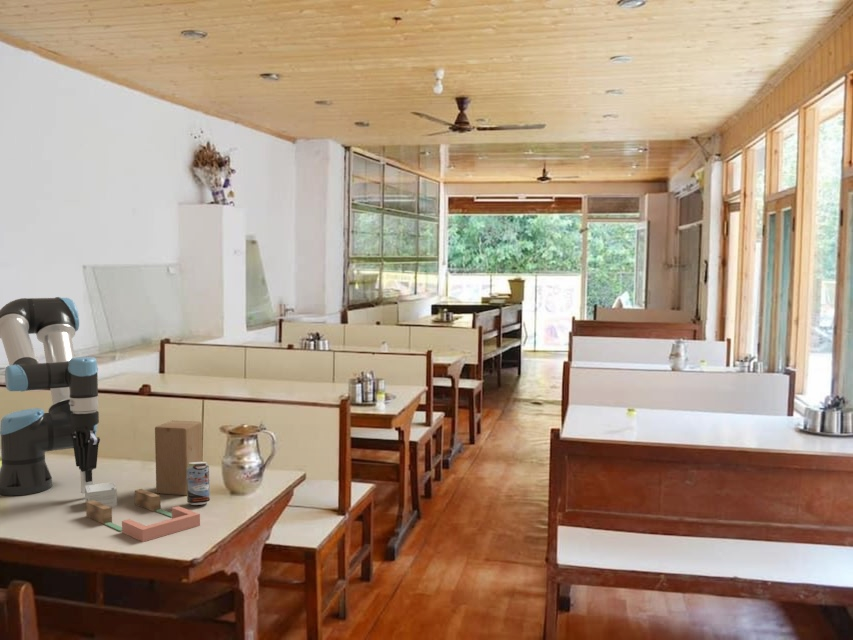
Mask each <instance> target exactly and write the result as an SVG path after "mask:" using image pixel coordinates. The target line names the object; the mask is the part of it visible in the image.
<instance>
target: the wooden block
mask: <svg viewBox="0 0 853 640" xmlns="http://www.w3.org/2000/svg"><path fill="white" fill-rule="evenodd" d="M202 432H203V431H202V422H201V421H193V420H190V421H188V420H174V419H173V420H170V421H167V422H164V423H162V424H160V425H156V426H155V427H154V443H155V444H154V445H155V446H154V449H155V450H154V451H155V486H156V487H155V491H156V494H159V493H160V494H161V495H176V496H187V467H188V465H189V463H191V462H203V445H202V444H203V443H202V442H203V441H202V440H203V437H202Z"/></svg>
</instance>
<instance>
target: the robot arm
mask: <svg viewBox="0 0 853 640" xmlns="http://www.w3.org/2000/svg"><path fill="white" fill-rule="evenodd" d="M79 316H80V315H79V311H78V308H77V305H76V303H75V302H74V300H73V299H71V298H70V297H59V296H57V297H38V298H37V297H35V298H33V297H31V298H29V297H28V298H26V297H25V298H17V299H14V300H11V301H10V302H7V303H6V304H5V305H4V306H3V307H1V309H0V339H1V343H2V345H3V348H4V351H5V354H6V358H7V361H8V364H9V365H7V366H6V368H5V370H4V380H5V381H4V382H5V388H6V389H7V391H9V392H27V391H37V390H50V396H51V401H52V404H51V405H49V408H48V411H47V412H45V410H44V409H43V408H38V407H35V408H27V409H22V410H18V411H17V410H16V411H13V412H10V413H9V414H6V415H4V416H3V417H2V418H1V419H0V453H1V454H0V455H1V456H0V458H1V466H0V495H2V496H23V495H24V496H25V495H26V496H27V495H31V494H38V493H40V492H44V491H47V490H49V489H51V488H52V487H53V477H52V475H51V472H50V470H49V467H48V465H47V462H46V452H53V451H60V450H71V449H73V452H74V460H75V466H76V467H77V468H78V470H79V471H80V493H82V494H83V495H85V486H87V485H94V484H93V470H95V469H97V465H98V453H99V444H100V441H101V439H100V436H99V437H98V436H97V429H98V424H99V423H100V415H99V414H100V413H99V411H98V410H99V408H100V407H99V405H100V404H99V388H98V387H99V386H98V385H99V382H98V381H99V379H98V373H99V372H98V371H99V368H98V360H97V359H96V357H93V356H77V357H76V356H75V350H74V343H73V340H72V339H73V338H74V337H75V336H76V332H77V331H79V328H80V319H79ZM31 334H33V335H35V334H36V335H35V336H36V338H37V340H38V341H39V342H41V343H42V345H43V351H44V356H45V362H41V363H39V359H38V357H37V354H36V350H35V348H34V345H33V343H32V339H31V337H30V335H31Z"/></svg>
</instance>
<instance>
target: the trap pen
mask: <svg viewBox="0 0 853 640" xmlns="http://www.w3.org/2000/svg"><path fill="white" fill-rule="evenodd" d="M171 513H172V518H171V519H166V520H163V521H159V522H155V523H151V524H148V525H144V524H142V523H140V522H137V521H135V520H133V519H131V518H128V519H124V520H121V527H122V531H121V532H122V534H124V535H127V536H128V537H131V538H134V539H135V540H138V541H140V542H142V543H144V542H147V541H150V540H154V539H158V538H162V537H164V536H169V535H173V534H175V533H178V532H181V531H186V530H189V529H193V528H196V527H200V526H201V513H198V512H196V511H193V510H190V509H187V508H185V507H182V506H173V507H171Z"/></svg>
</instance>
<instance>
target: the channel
mask: <svg viewBox="0 0 853 640" xmlns="http://www.w3.org/2000/svg"><path fill="white" fill-rule="evenodd" d="M134 504H135V505H136V506H138V507H141V508H143V509H146V510H149V511H151V512H153V513H154V512H155V513H156V510H159V509H162V508H161V507H162V506H161V495H159V494H158V493H154V492H152V491H149V490H145V489H143V488H140V489H135V490H134ZM112 511H113V507H109V506H106V505H104V504H101V503H99V502H97V501H94V500H92V501H87V502H86V501H85V512H86V517H87V518H89V519H90V520H93V521H96V522H98V523H99V524H103V525H105V523H109V522H111V523H113V512H112ZM105 526H106V525H105Z"/></svg>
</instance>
